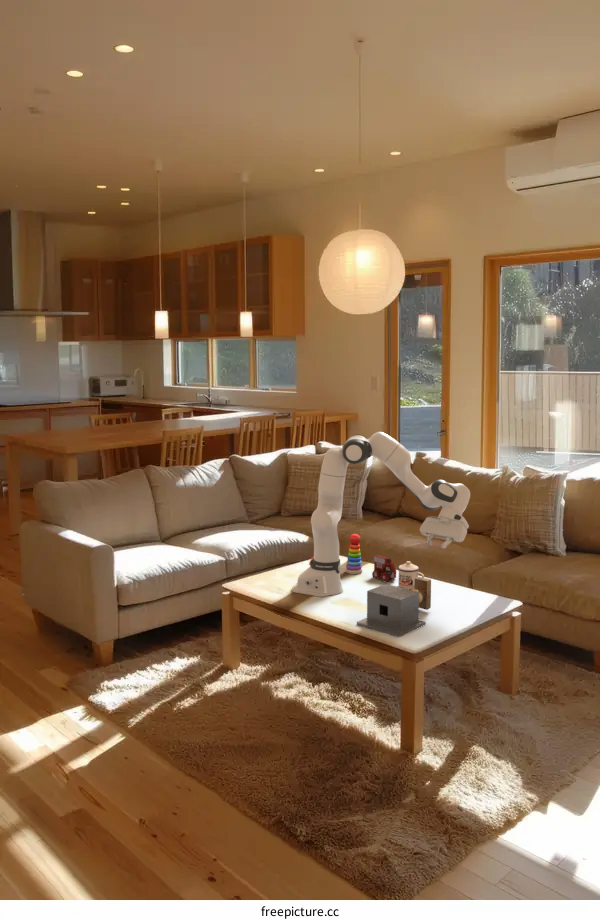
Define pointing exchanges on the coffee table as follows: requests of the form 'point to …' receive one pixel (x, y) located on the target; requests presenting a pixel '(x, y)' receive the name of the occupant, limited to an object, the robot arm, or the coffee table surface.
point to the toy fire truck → (383, 568)
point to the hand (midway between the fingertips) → (435, 546)
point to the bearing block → (392, 610)
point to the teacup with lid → (408, 575)
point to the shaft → (423, 592)
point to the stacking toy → (354, 556)
